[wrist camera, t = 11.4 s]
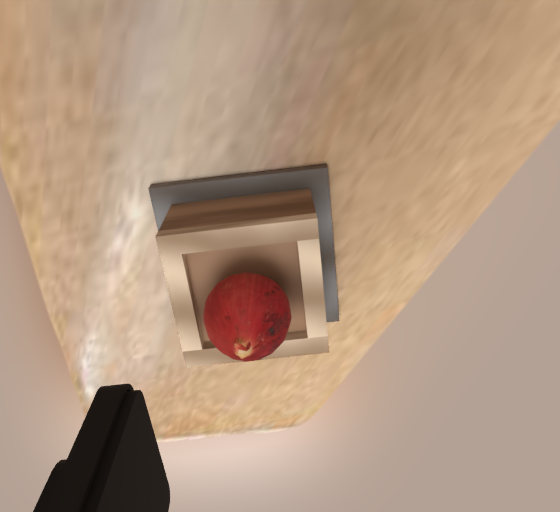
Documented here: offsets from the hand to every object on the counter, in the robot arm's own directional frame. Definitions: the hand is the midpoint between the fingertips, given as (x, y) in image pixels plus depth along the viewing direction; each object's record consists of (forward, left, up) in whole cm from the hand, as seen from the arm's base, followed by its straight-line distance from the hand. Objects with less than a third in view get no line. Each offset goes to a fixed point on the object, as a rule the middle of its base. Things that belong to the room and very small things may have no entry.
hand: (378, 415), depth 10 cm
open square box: (+11, -5, -32) cm, 34 cm away
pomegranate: (+11, -5, -26) cm, 29 cm away
